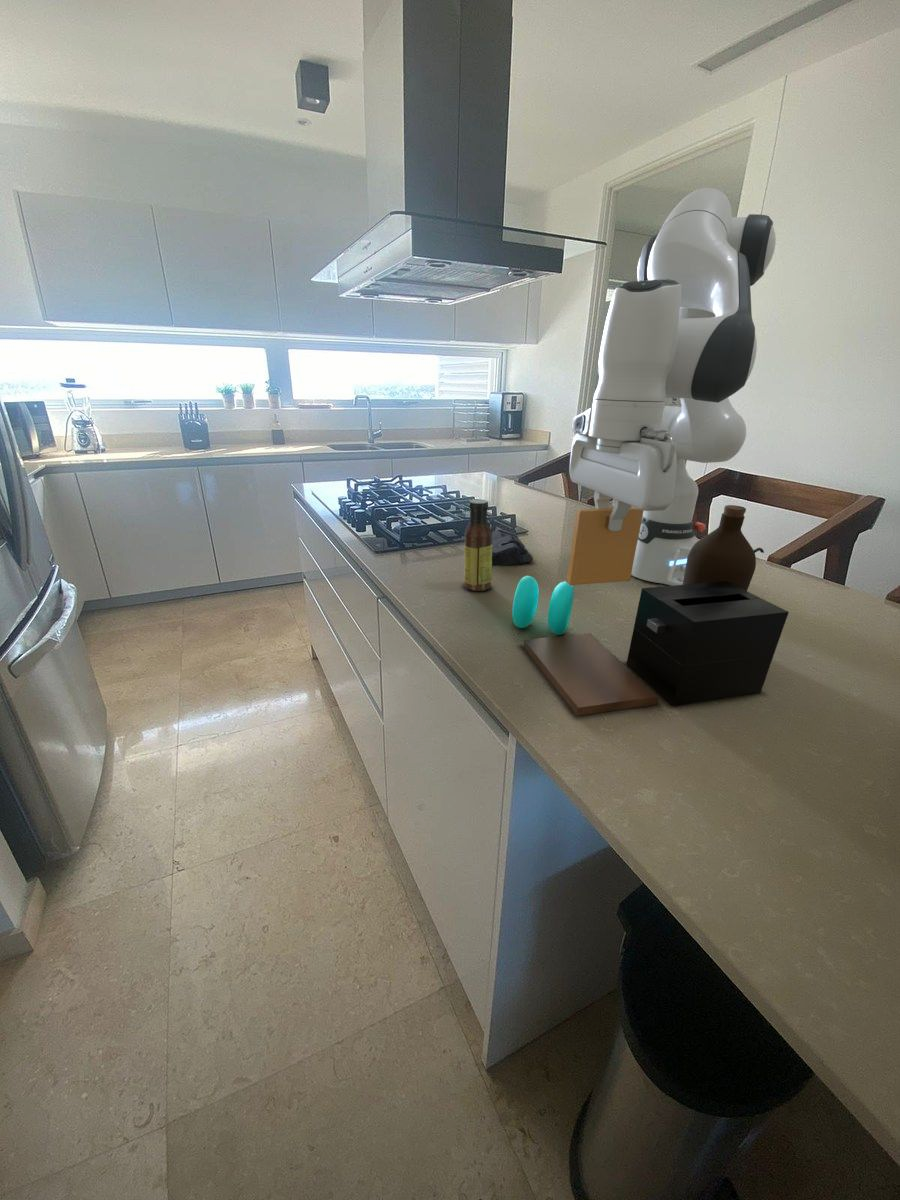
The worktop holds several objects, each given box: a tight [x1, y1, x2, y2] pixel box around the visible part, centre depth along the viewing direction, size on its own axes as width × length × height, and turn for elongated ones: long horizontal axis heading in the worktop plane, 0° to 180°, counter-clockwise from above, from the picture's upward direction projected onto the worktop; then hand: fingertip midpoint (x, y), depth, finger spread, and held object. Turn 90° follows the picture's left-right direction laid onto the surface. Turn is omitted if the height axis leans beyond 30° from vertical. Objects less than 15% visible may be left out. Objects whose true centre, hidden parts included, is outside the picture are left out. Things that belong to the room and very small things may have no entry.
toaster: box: [625, 581, 790, 707], centre depth 76 cm, size 18×12×14 cm
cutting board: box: [523, 632, 659, 717], centre depth 79 cm, size 13×20×2 cm, turn 14°
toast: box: [565, 506, 643, 586], centre depth 70 cm, size 10×1×11 cm, turn 104°
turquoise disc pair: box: [511, 575, 575, 636], centre depth 91 cm, size 10×10×10 cm
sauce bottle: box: [463, 498, 493, 592], centre depth 107 cm, size 7×6×20 cm
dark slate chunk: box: [492, 529, 534, 566], centre depth 134 cm, size 15×22×5 cm
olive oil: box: [683, 504, 757, 592], centre depth 86 cm, size 11×11×25 cm
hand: (607, 527), depth 69 cm, fingers closed on toast, 1 cm apart
